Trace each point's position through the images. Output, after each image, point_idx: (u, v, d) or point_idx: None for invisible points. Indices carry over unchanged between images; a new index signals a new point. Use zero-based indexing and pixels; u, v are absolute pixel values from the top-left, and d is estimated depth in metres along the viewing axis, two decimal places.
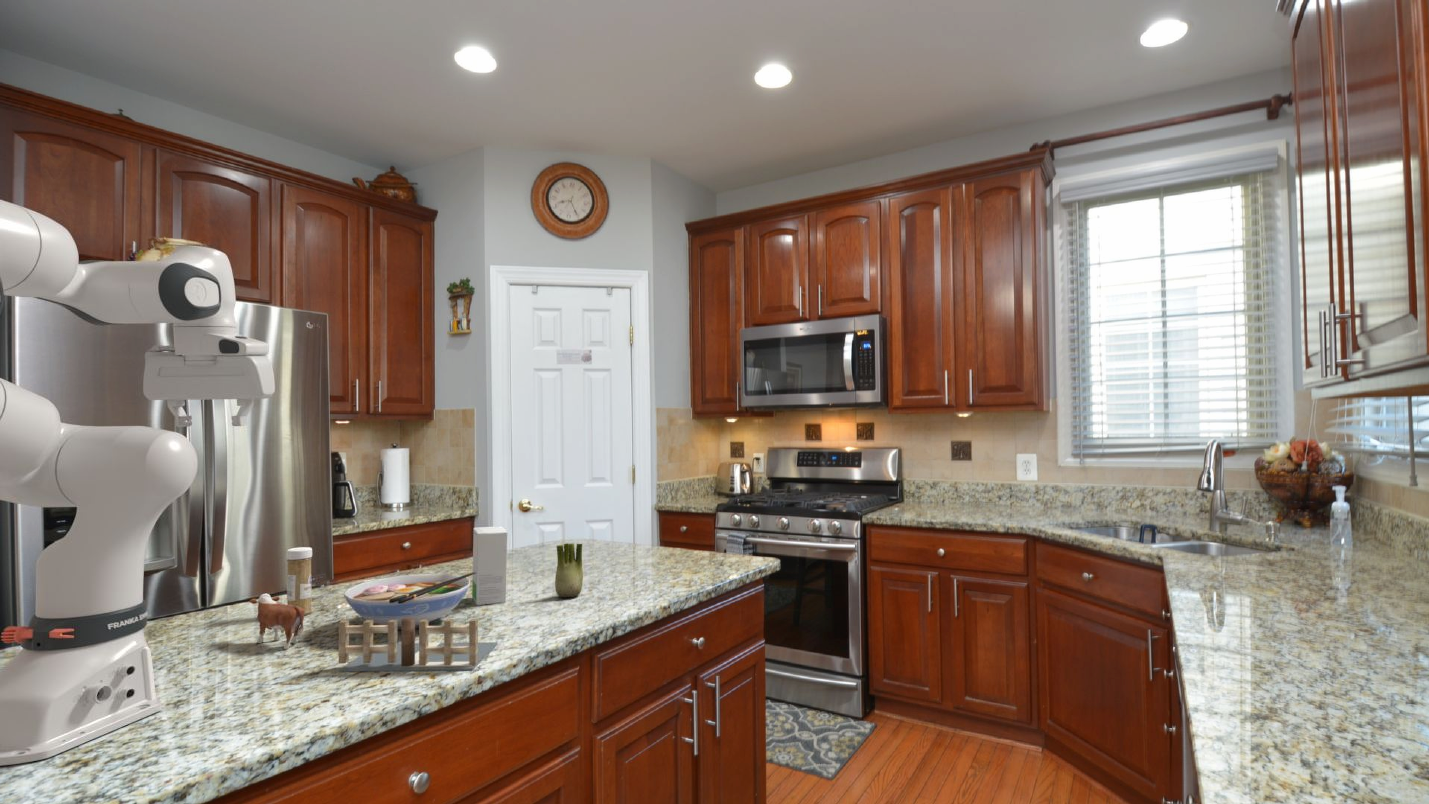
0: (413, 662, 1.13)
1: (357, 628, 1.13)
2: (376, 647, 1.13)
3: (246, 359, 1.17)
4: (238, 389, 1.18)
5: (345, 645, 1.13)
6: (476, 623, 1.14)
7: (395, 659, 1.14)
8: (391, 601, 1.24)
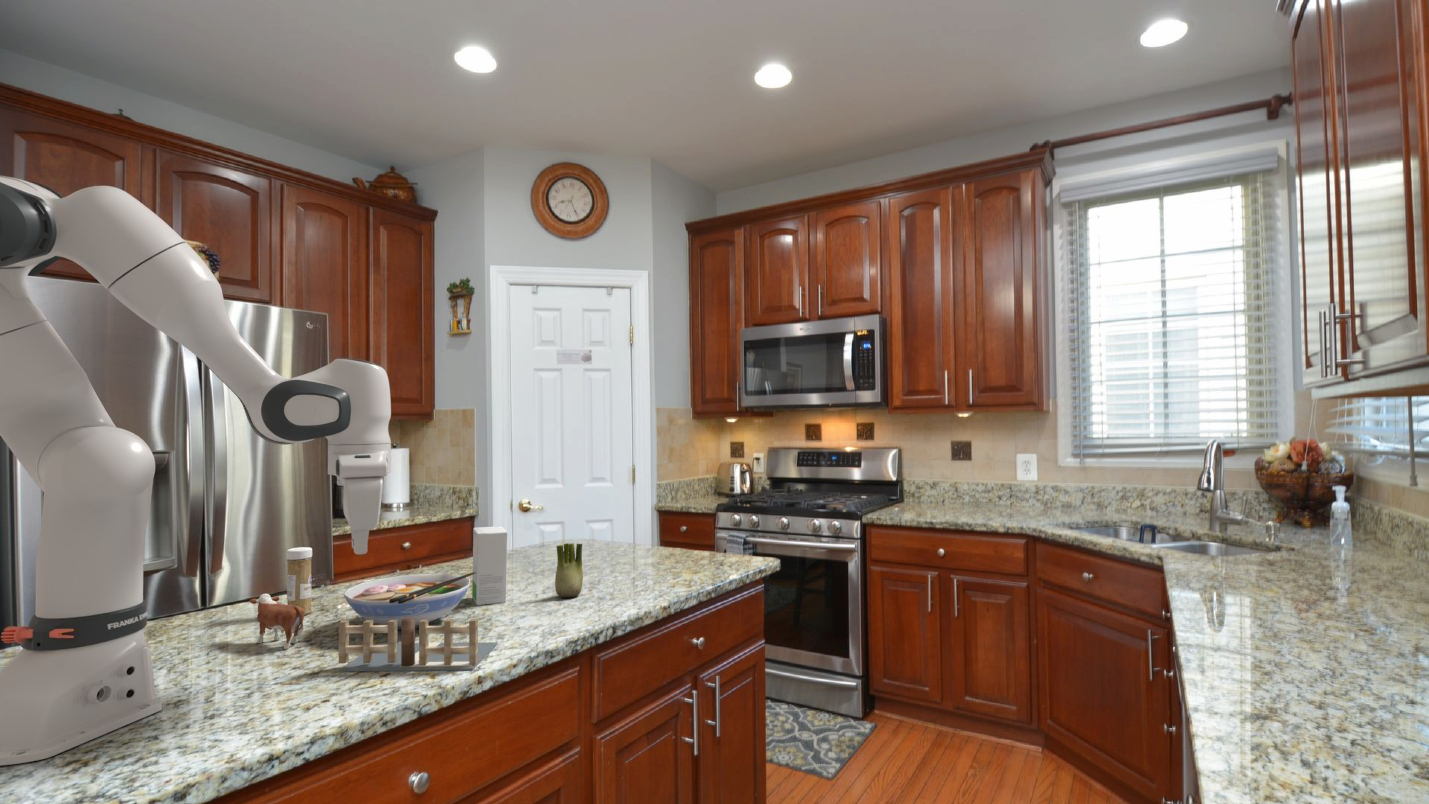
0: (413, 662, 1.13)
1: (357, 628, 1.13)
2: (376, 647, 1.13)
3: (344, 483, 1.02)
4: None
5: (345, 645, 1.13)
6: (476, 623, 1.14)
7: (395, 659, 1.14)
8: (391, 601, 1.24)
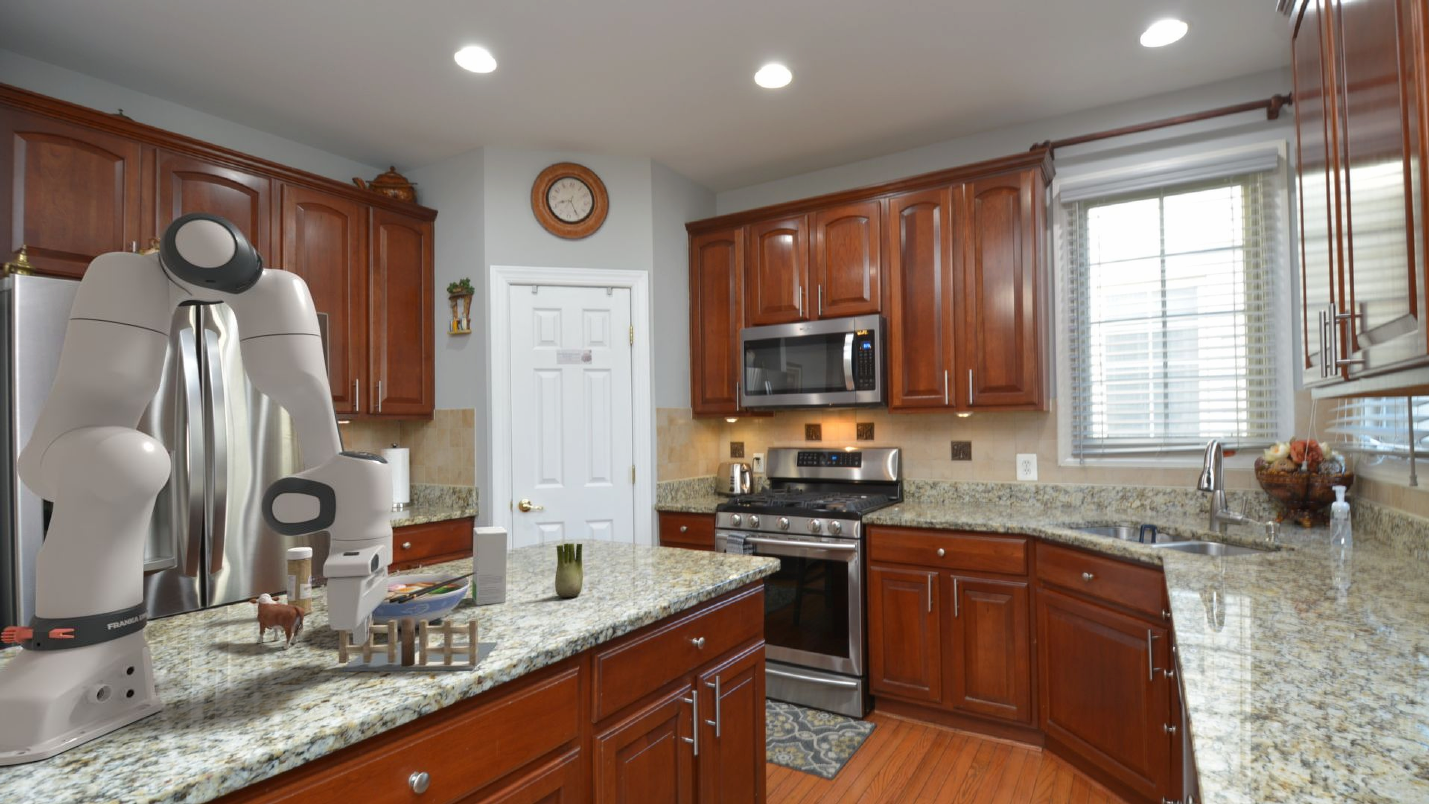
0: (413, 662, 1.13)
1: None
2: (376, 647, 1.13)
3: (327, 583, 1.03)
4: None
5: (345, 645, 1.13)
6: (476, 623, 1.14)
7: (395, 659, 1.14)
8: (391, 601, 1.24)
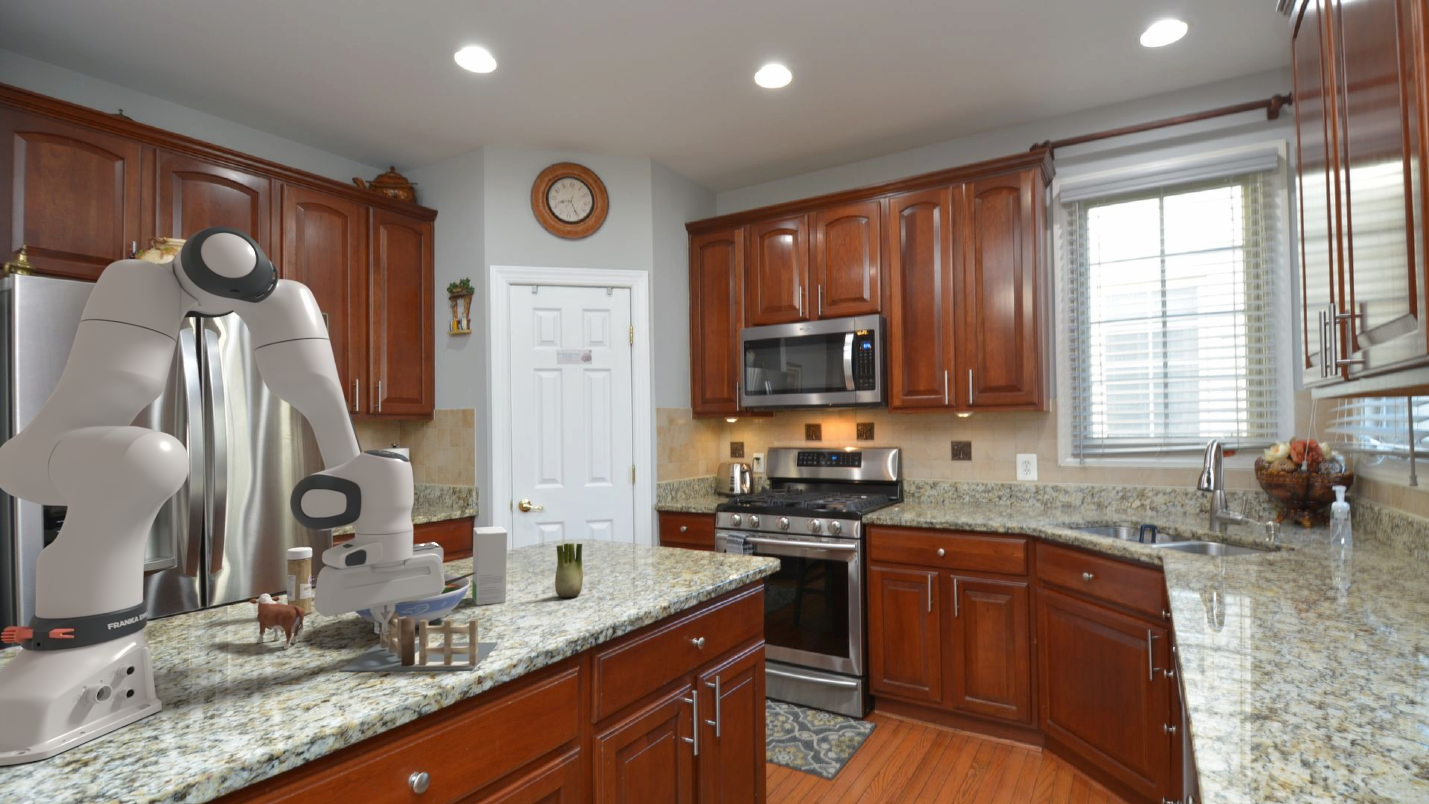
0: (413, 662, 1.13)
1: None
2: (394, 640, 1.17)
3: None
4: None
5: None
6: (476, 623, 1.14)
7: None
8: None
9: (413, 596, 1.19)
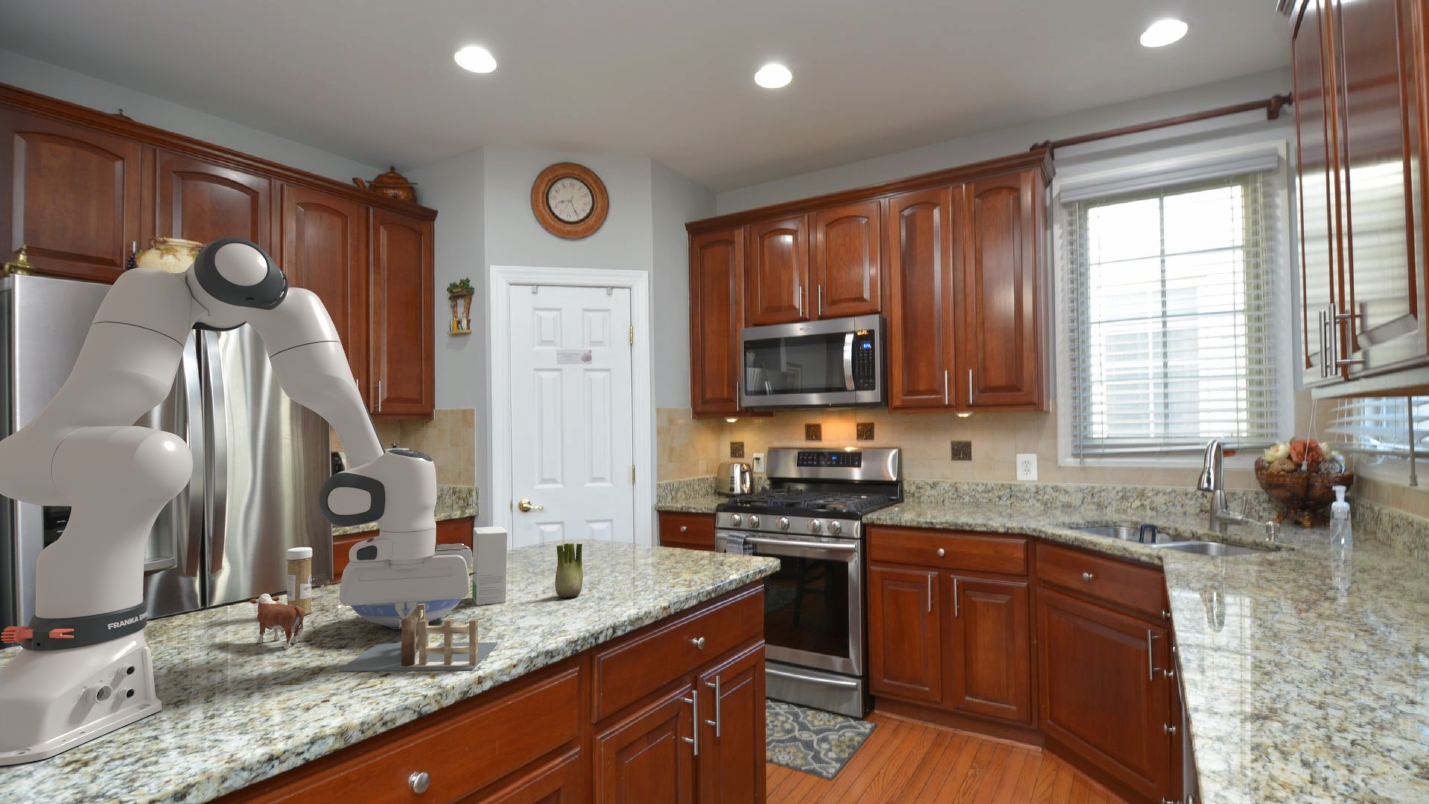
0: (413, 662, 1.13)
1: None
2: None
3: None
4: None
5: None
6: (476, 623, 1.14)
7: None
8: None
9: (433, 596, 1.20)
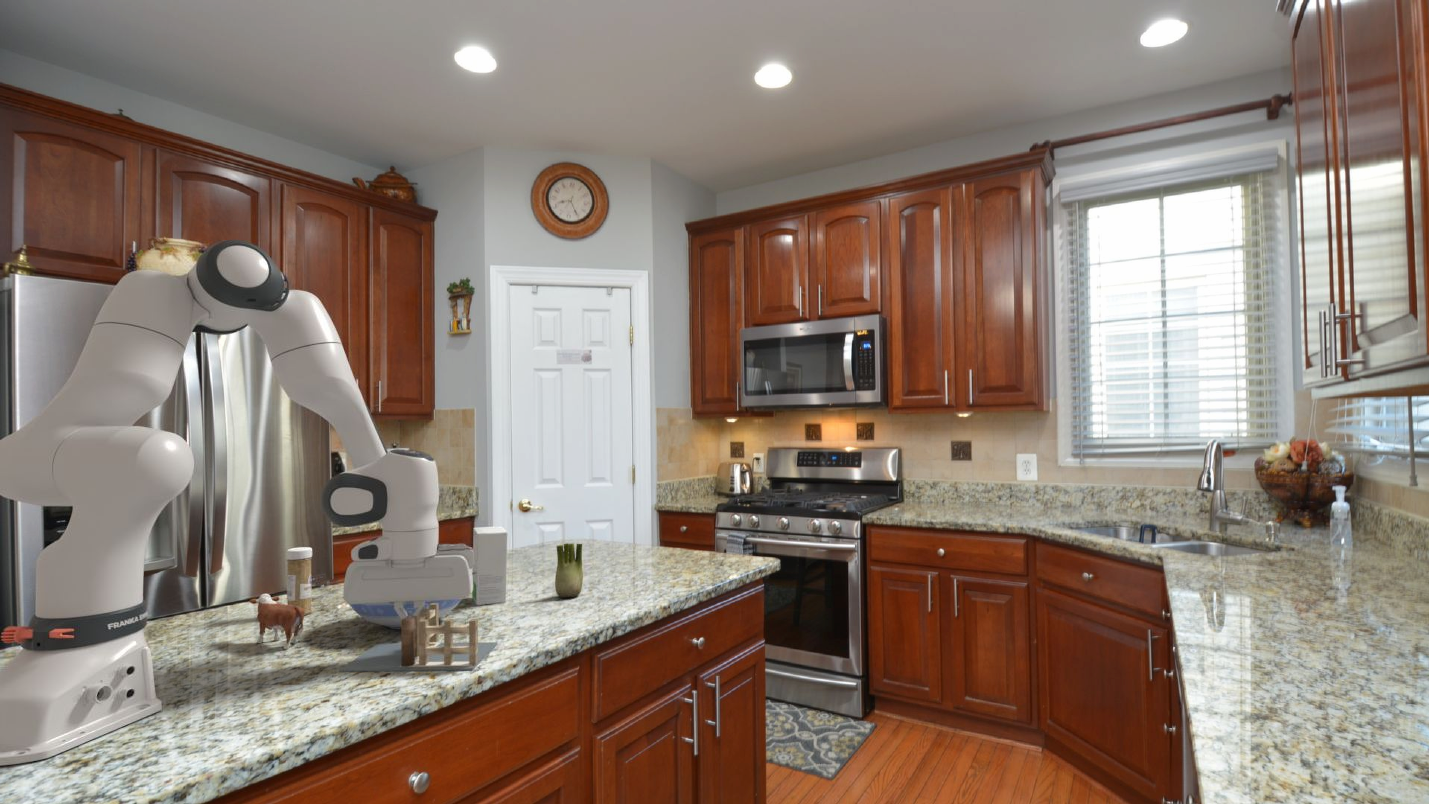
0: (413, 662, 1.13)
1: None
2: None
3: None
4: None
5: None
6: (476, 623, 1.14)
7: None
8: None
9: (434, 596, 1.19)
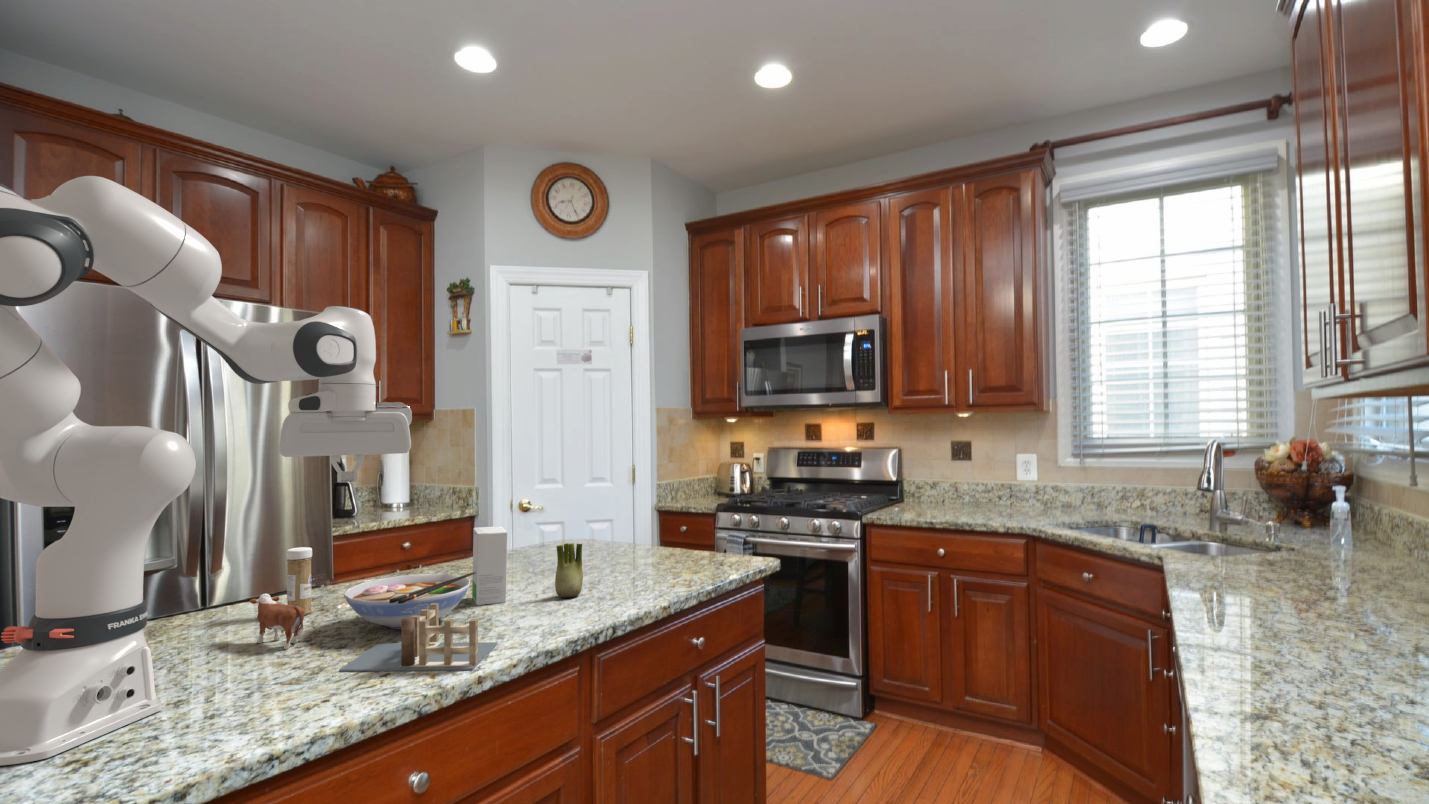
0: (413, 662, 1.13)
1: None
2: None
3: None
4: None
5: None
6: (476, 623, 1.14)
7: None
8: (391, 601, 1.24)
9: (375, 450, 1.23)
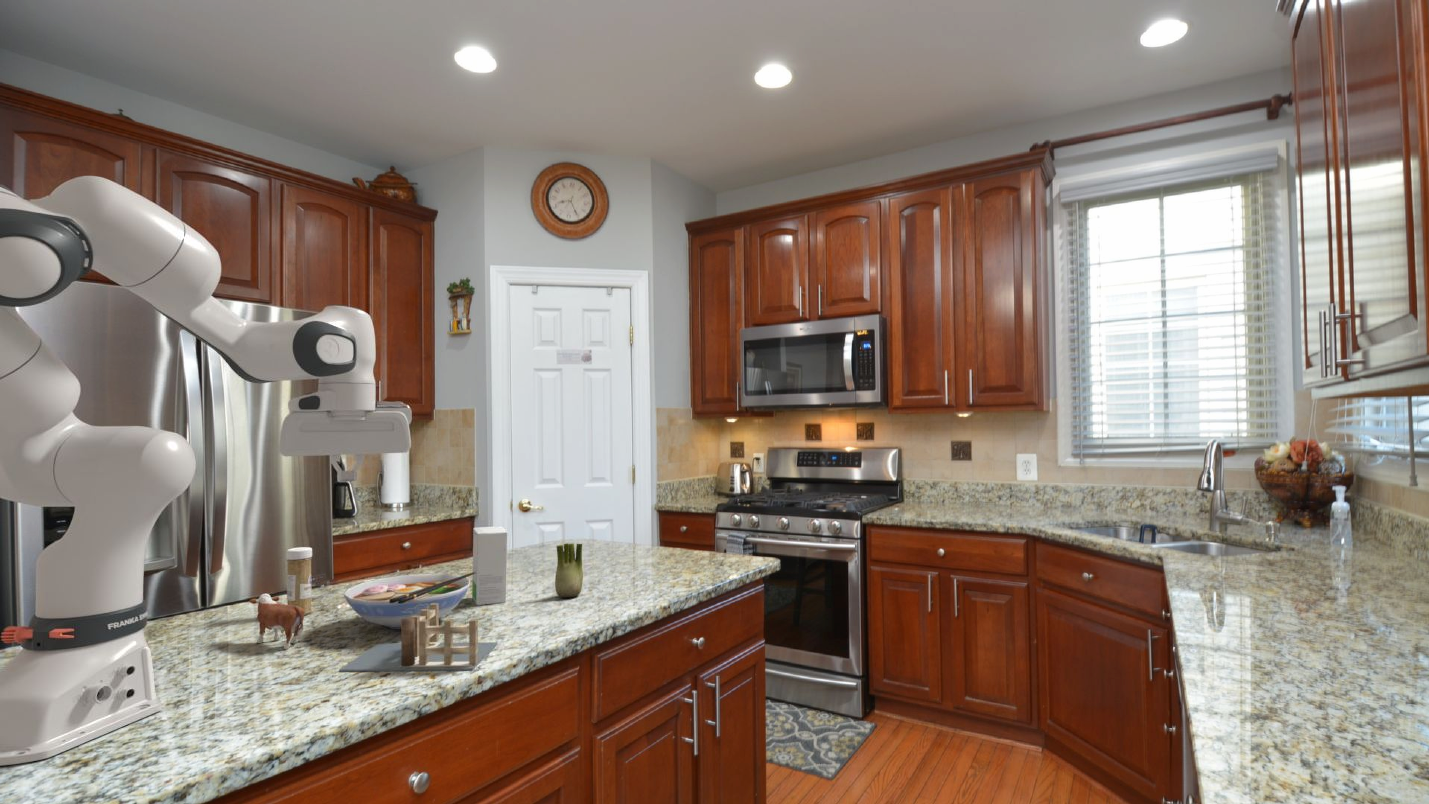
0: (413, 662, 1.13)
1: None
2: None
3: None
4: None
5: None
6: (476, 623, 1.14)
7: None
8: (391, 601, 1.24)
9: (375, 449, 1.23)
